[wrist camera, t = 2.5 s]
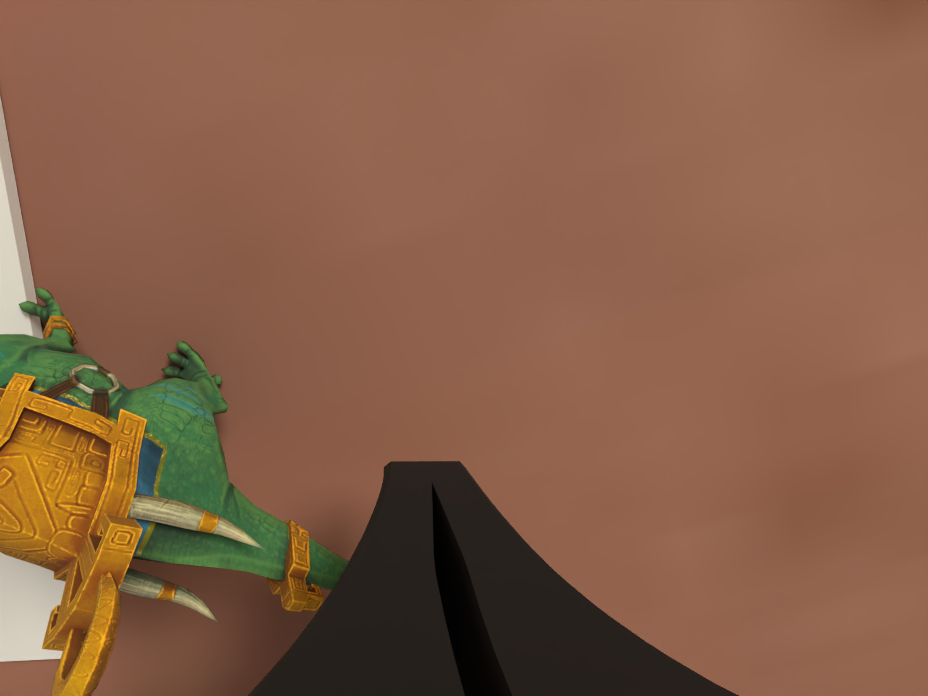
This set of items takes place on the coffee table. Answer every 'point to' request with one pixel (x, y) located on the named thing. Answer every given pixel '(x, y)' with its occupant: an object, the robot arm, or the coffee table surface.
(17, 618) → the cream mat
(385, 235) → the coffee table surface
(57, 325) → the figurine
